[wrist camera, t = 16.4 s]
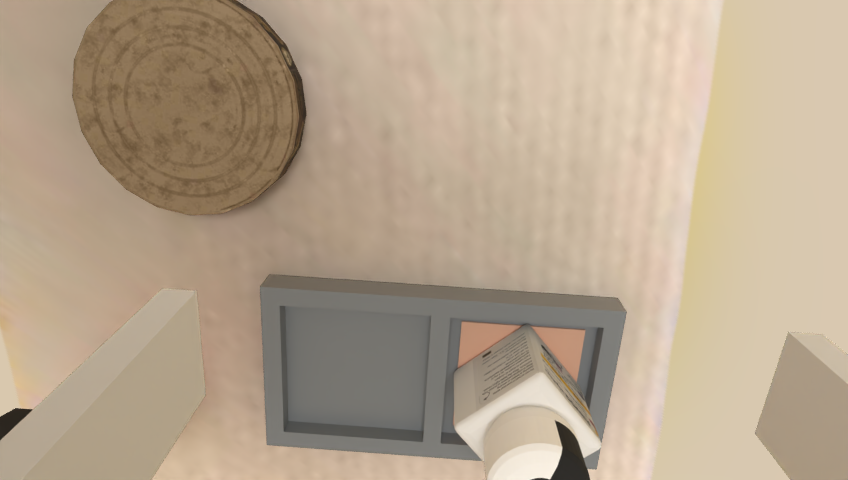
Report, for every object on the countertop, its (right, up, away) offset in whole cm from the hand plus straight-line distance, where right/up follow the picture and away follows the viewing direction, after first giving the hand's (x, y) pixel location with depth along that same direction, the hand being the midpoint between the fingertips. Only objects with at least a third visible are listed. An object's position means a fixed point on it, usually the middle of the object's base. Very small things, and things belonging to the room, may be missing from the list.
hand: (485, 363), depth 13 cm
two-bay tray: (0, -8, +36) cm, 37 cm away
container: (+6, -9, +35) cm, 37 cm away
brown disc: (-18, +13, +30) cm, 37 cm away
